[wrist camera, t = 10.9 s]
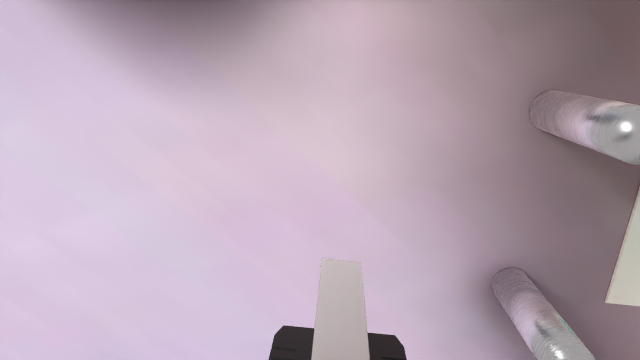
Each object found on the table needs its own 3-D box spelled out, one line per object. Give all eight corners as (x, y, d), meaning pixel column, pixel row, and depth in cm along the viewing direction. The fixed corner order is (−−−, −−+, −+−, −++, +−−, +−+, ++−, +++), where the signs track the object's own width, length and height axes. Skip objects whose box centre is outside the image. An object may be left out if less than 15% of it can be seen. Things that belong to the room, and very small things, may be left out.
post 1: (525, 128, 28) (606, 162, 19) (534, 88, 27) (622, 104, 19) (565, 132, 28) (665, 167, 19) (575, 92, 27) (683, 109, 19)
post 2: (488, 297, 32) (543, 389, 23) (495, 266, 31) (554, 348, 22) (524, 301, 32) (592, 394, 23) (531, 269, 31) (605, 353, 22)
